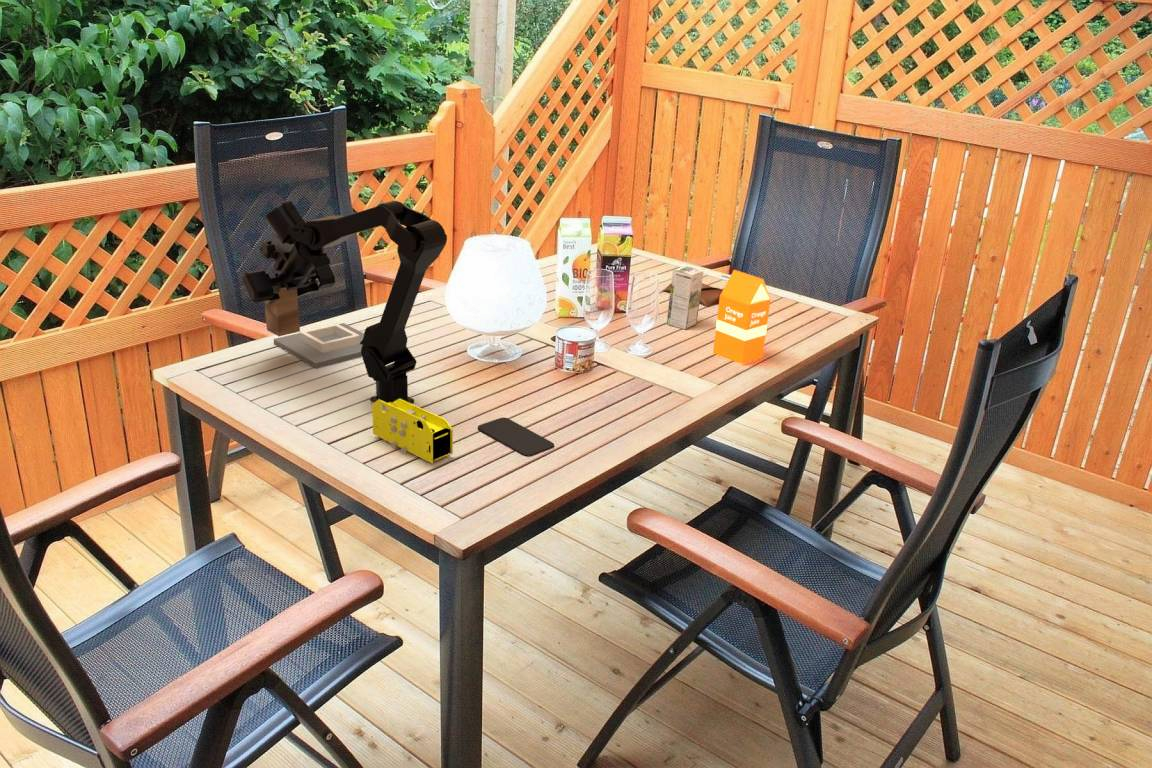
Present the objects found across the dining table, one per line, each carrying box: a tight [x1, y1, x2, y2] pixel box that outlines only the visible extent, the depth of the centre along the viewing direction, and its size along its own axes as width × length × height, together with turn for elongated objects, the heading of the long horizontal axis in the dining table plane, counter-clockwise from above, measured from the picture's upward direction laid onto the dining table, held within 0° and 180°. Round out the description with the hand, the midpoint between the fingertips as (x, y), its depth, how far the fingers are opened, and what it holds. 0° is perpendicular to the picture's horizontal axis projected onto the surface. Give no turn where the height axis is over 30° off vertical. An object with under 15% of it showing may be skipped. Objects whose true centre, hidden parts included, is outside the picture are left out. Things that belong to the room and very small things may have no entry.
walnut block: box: [263, 288, 301, 337], centre depth 204 cm, size 5×5×10 cm
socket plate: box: [273, 322, 364, 369], centre depth 216 cm, size 18×18×3 cm
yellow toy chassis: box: [371, 399, 454, 464], centre depth 173 cm, size 16×6×8 cm, turn 50°
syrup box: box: [666, 265, 704, 330], centre depth 241 cm, size 6×6×14 cm
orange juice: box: [712, 269, 771, 364], centre depth 222 cm, size 8×9×20 cm
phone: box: [477, 416, 555, 458], centre depth 180 cm, size 7×1×15 cm
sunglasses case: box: [661, 282, 723, 308], centre depth 266 cm, size 18×7×7 cm, turn 44°
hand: (277, 299), depth 204 cm, fingers closed on walnut block, 5 cm apart
